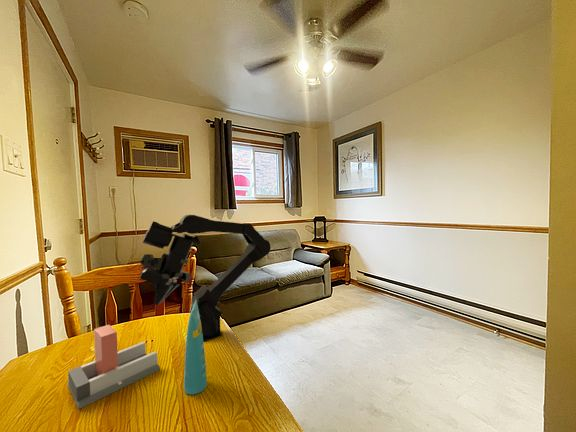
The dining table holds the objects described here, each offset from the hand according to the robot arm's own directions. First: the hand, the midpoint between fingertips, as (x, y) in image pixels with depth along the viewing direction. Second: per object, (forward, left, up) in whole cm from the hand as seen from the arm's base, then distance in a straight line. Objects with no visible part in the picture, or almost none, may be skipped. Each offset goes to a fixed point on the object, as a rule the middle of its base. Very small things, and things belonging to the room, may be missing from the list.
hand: (156, 304), depth 72 cm
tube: (-5, +23, -13) cm, 27 cm away
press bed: (+10, +8, -13) cm, 18 cm away
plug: (+12, +8, -12) cm, 19 cm away
